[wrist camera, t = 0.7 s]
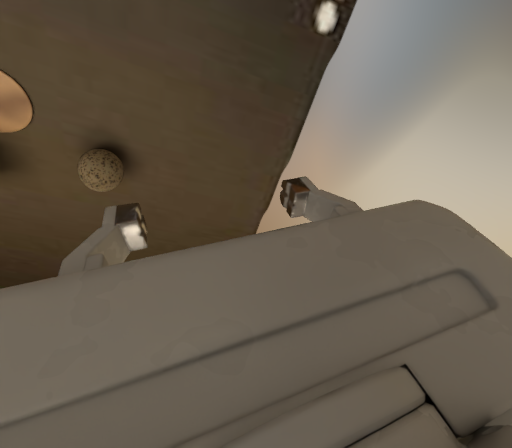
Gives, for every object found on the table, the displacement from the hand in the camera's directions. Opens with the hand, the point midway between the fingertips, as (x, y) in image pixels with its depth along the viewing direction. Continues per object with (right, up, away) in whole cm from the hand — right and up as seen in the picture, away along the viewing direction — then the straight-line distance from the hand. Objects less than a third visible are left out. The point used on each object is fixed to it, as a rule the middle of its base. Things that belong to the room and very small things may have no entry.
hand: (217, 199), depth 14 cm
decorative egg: (-28, +12, +34) cm, 45 cm away
